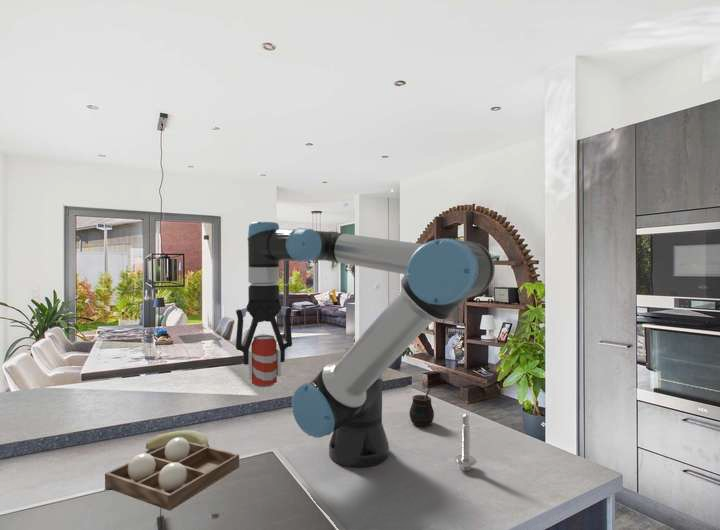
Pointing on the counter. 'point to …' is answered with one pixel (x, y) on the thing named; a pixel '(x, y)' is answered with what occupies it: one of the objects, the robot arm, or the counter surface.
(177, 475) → the egg
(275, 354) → the beverage can
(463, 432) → the screw
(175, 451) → the egg
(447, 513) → the counter surface
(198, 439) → the fruit
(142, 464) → the egg
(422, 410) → the mate gourd
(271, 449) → the counter surface
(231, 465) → the crate
